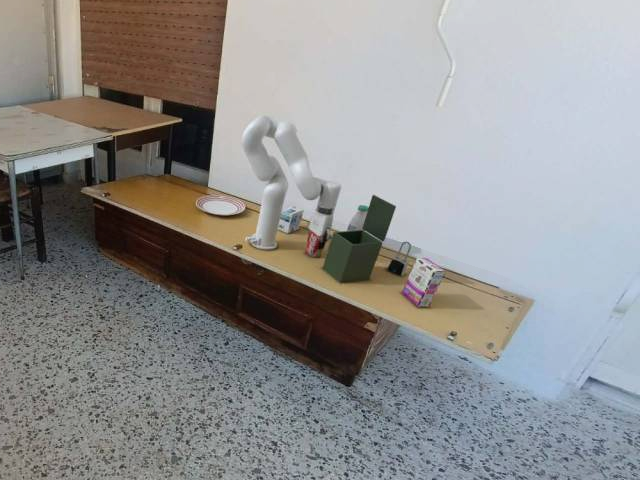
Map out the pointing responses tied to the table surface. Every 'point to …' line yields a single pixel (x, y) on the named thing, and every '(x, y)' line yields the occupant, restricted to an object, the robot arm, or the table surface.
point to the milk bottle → (358, 219)
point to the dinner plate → (220, 205)
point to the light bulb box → (290, 219)
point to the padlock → (399, 263)
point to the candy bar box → (423, 282)
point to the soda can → (313, 245)
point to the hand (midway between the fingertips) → (315, 244)
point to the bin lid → (378, 217)
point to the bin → (352, 255)
